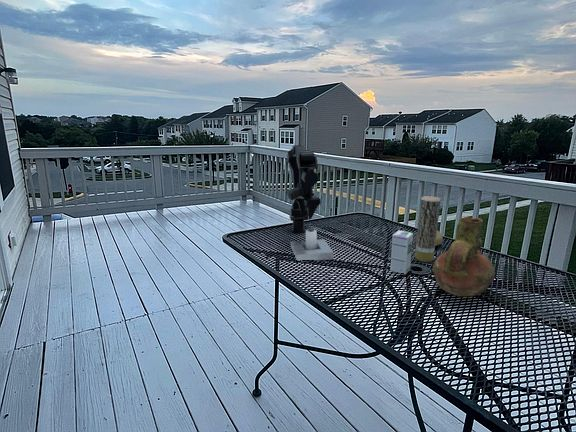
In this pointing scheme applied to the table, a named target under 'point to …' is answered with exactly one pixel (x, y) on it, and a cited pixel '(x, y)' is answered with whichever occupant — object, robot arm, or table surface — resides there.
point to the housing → (311, 251)
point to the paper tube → (427, 228)
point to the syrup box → (401, 251)
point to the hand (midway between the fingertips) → (305, 216)
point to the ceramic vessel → (464, 262)
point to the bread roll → (437, 238)
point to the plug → (311, 239)
